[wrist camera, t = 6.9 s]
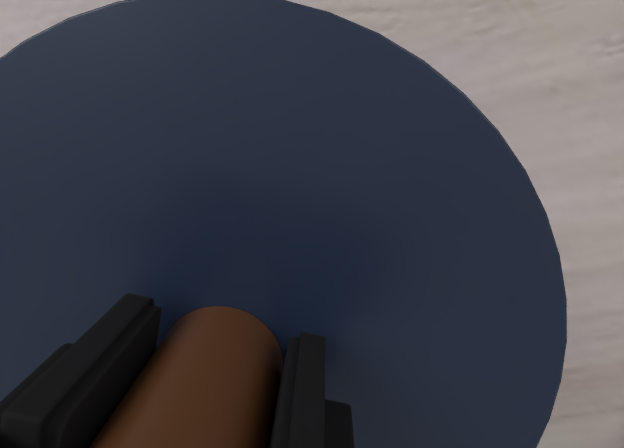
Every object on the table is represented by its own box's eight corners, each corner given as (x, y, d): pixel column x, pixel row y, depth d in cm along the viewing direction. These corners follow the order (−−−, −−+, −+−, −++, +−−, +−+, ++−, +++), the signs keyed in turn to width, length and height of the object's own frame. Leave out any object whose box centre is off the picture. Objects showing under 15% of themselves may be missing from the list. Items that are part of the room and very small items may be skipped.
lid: (509, -78, 9) (956, -518, 3) (565, 529, 13) (801, 954, 7) (-181, 92, 10) (-1010, 79, 4) (56, 597, 14) (-166, 1006, 8)
